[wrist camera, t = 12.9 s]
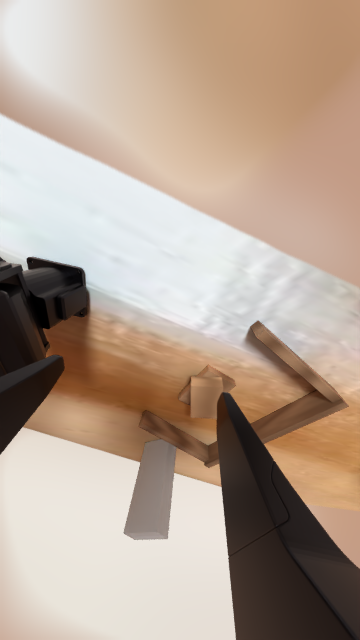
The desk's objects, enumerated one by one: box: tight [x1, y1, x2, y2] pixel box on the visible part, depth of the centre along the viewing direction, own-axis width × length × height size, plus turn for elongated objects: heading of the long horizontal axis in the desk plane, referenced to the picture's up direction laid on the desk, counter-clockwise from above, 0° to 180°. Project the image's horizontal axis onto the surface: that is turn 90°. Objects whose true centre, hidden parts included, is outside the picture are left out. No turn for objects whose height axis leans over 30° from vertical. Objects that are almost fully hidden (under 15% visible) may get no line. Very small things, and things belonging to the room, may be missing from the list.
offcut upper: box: [191, 376, 223, 419], centre depth 26 cm, size 4×7×2 cm, turn 1°
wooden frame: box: [139, 321, 349, 468], centre depth 27 cm, size 17×26×3 cm, turn 140°
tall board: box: [124, 439, 176, 540], centre depth 31 cm, size 3×6×12 cm, turn 118°
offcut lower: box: [178, 365, 236, 406], centre depth 27 cm, size 5×8×2 cm, turn 147°
